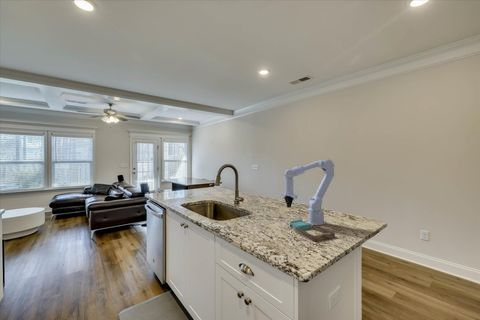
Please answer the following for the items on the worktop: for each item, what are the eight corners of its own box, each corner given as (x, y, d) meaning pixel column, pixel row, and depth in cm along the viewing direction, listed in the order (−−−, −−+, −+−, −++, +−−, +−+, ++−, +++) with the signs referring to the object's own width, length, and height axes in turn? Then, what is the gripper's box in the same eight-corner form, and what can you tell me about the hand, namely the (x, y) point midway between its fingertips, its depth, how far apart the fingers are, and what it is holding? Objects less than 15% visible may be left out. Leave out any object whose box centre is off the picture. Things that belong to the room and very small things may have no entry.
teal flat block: (301, 225, 135) (301, 219, 135) (310, 228, 128) (310, 222, 128) (289, 227, 132) (289, 220, 132) (297, 231, 124) (297, 224, 124)
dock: (314, 228, 128) (314, 224, 128) (334, 237, 114) (334, 232, 114) (295, 231, 122) (295, 227, 122) (313, 241, 108) (313, 236, 108)
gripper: (278, 186, 145) (277, 205, 145) (290, 189, 131) (290, 210, 132) (286, 185, 148) (286, 204, 148) (299, 188, 134) (299, 209, 134)
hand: (288, 207), depth 140 cm, fingers closed
